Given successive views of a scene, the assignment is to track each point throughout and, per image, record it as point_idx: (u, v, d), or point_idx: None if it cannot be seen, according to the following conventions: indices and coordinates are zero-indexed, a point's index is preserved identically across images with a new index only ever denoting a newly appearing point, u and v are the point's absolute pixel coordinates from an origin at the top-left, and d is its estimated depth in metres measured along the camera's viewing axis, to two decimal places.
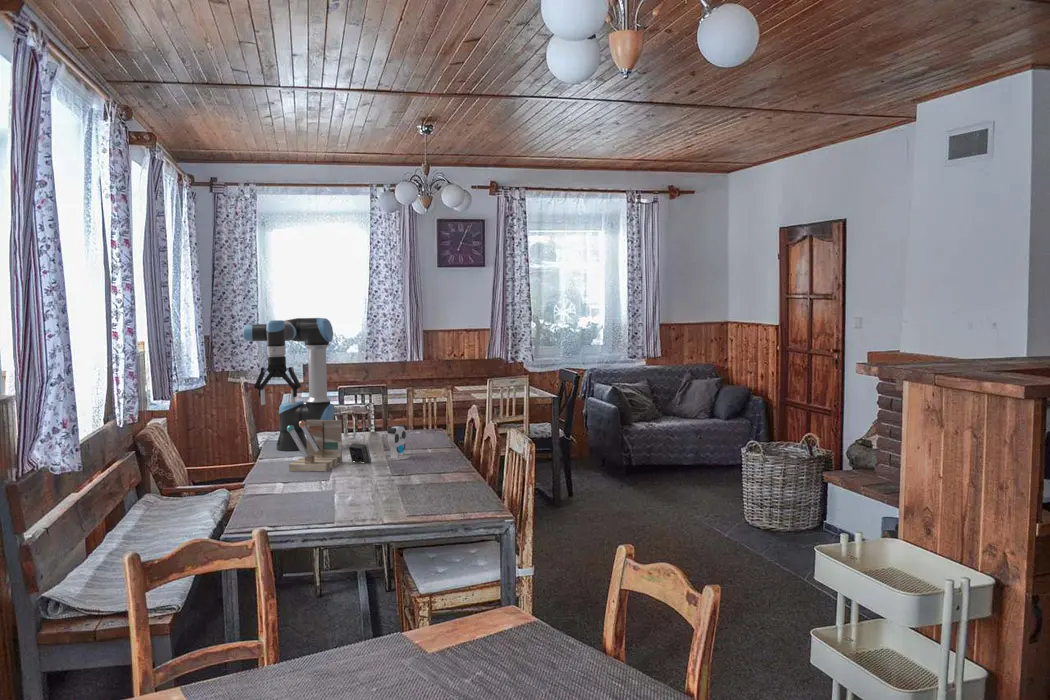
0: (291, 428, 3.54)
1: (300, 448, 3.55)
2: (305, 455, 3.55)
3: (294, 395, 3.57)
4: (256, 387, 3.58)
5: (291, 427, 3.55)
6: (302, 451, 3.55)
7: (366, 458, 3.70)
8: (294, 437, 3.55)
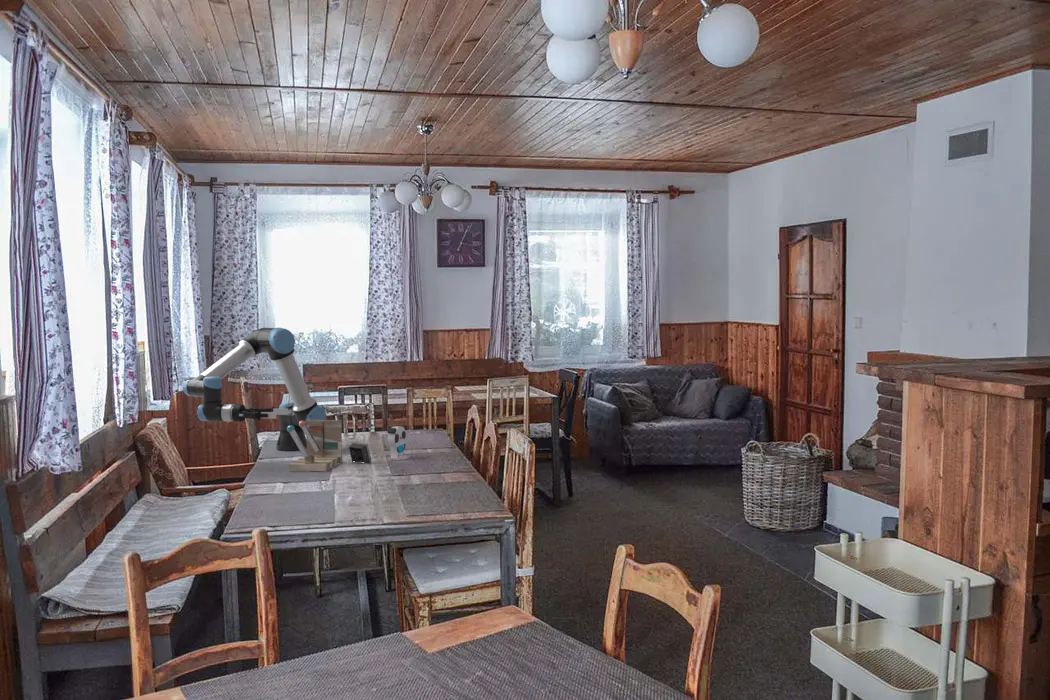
0: (291, 428, 3.54)
1: (300, 448, 3.55)
2: (305, 455, 3.55)
3: (265, 417, 3.49)
4: None
5: (291, 427, 3.55)
6: (302, 451, 3.55)
7: (366, 458, 3.70)
8: (294, 437, 3.55)
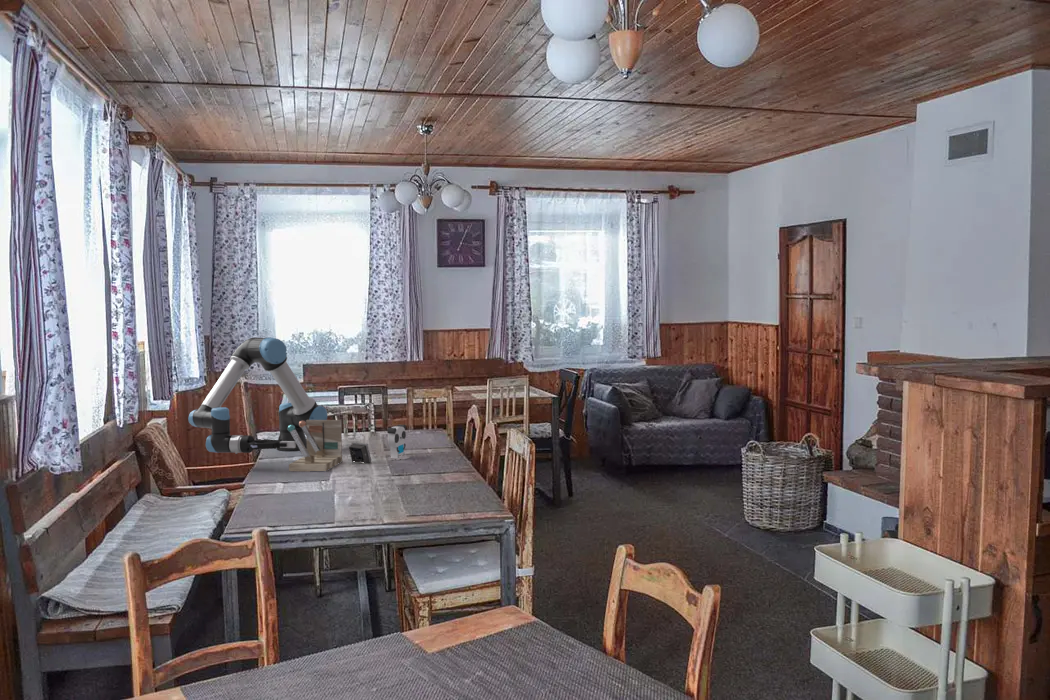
0: (291, 428, 3.54)
1: (300, 448, 3.55)
2: (305, 455, 3.55)
3: (284, 446, 3.55)
4: None
5: (292, 427, 3.55)
6: (302, 451, 3.55)
7: (366, 458, 3.70)
8: (295, 437, 3.55)
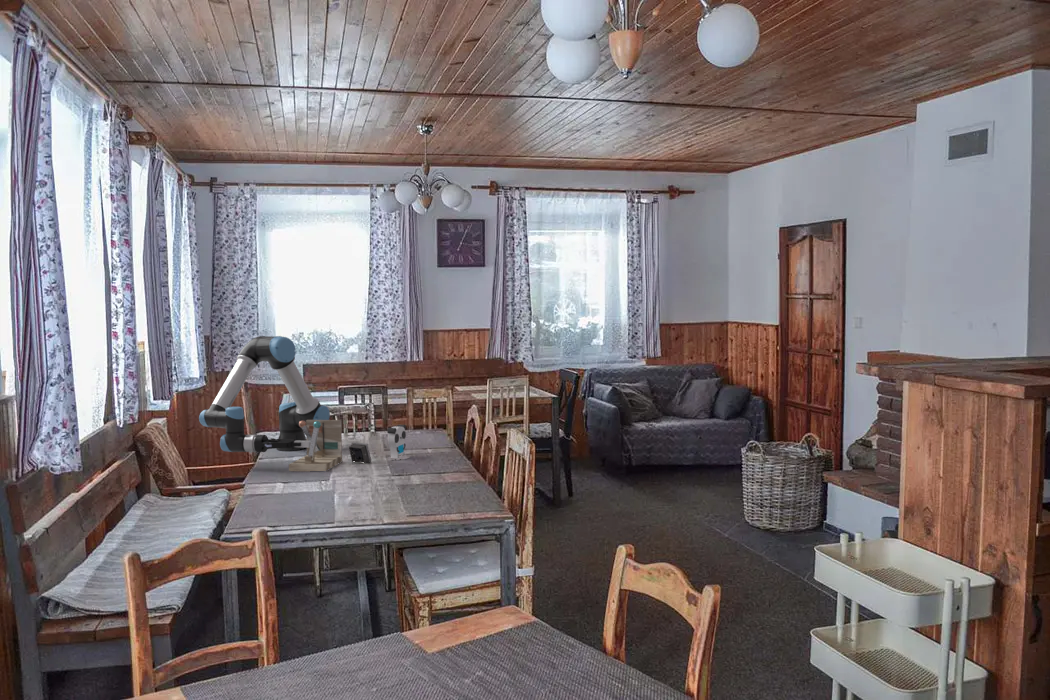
0: (317, 425, 3.53)
1: (311, 446, 3.54)
2: (310, 454, 3.54)
3: (299, 446, 3.54)
4: None
5: (318, 425, 3.53)
6: (311, 449, 3.54)
7: (366, 458, 3.70)
8: (314, 434, 3.54)
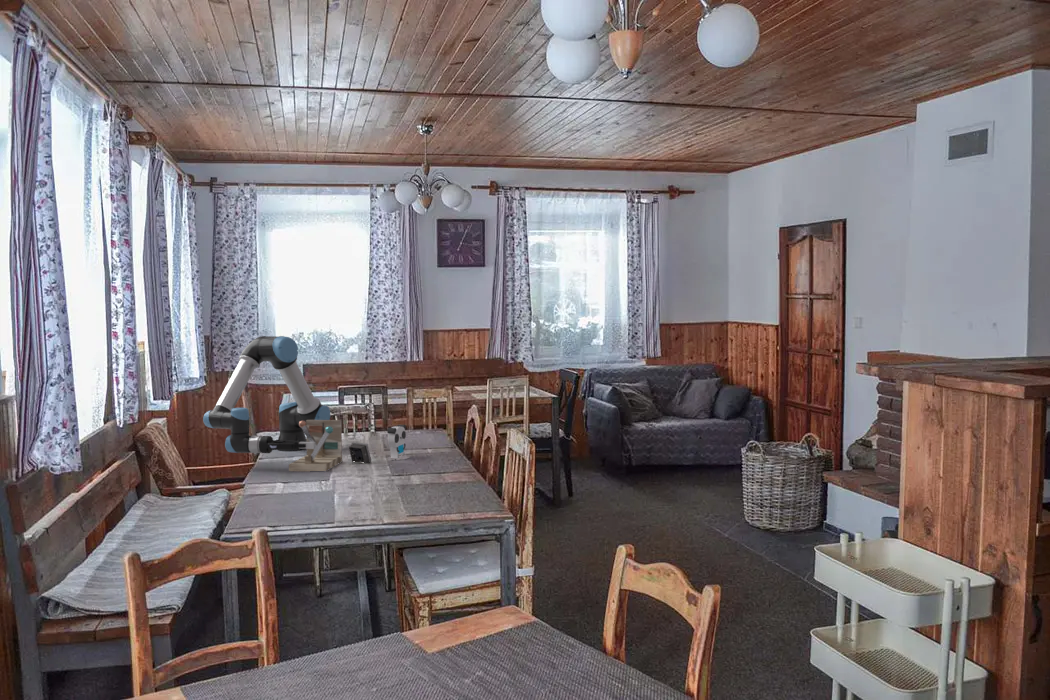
0: (329, 431, 3.53)
1: (316, 448, 3.54)
2: (313, 456, 3.54)
3: None
4: None
5: (330, 431, 3.53)
6: (315, 451, 3.54)
7: (366, 458, 3.70)
8: (323, 438, 3.54)
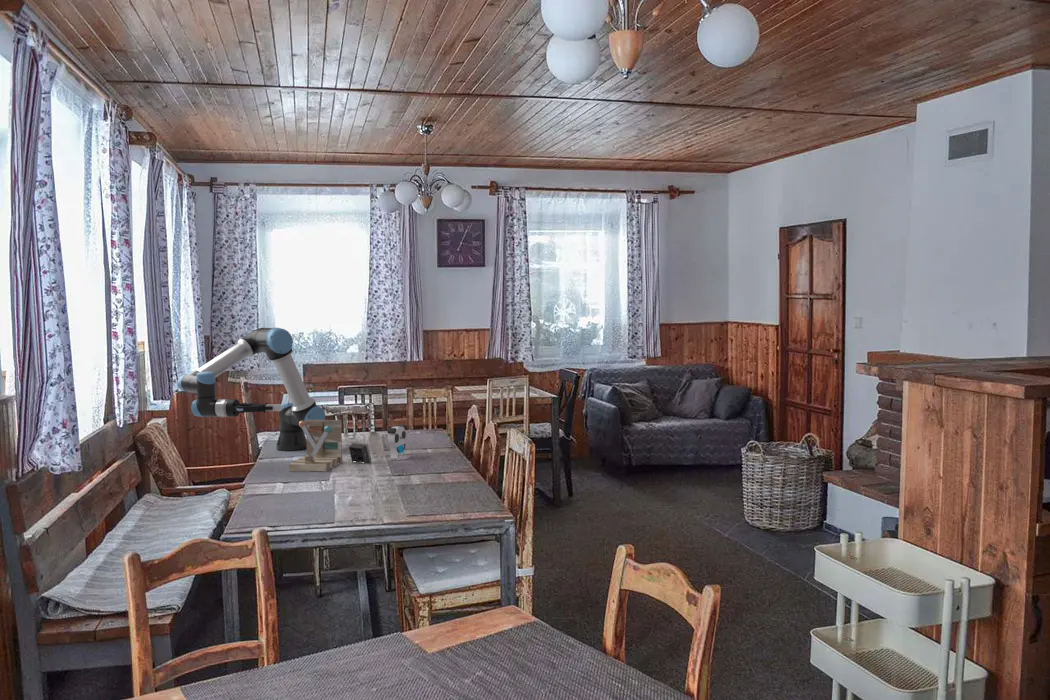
0: (328, 430, 3.53)
1: (316, 448, 3.54)
2: (312, 455, 3.54)
3: (270, 409, 3.55)
4: None
5: (329, 430, 3.53)
6: (314, 451, 3.54)
7: (366, 458, 3.70)
8: (322, 438, 3.54)
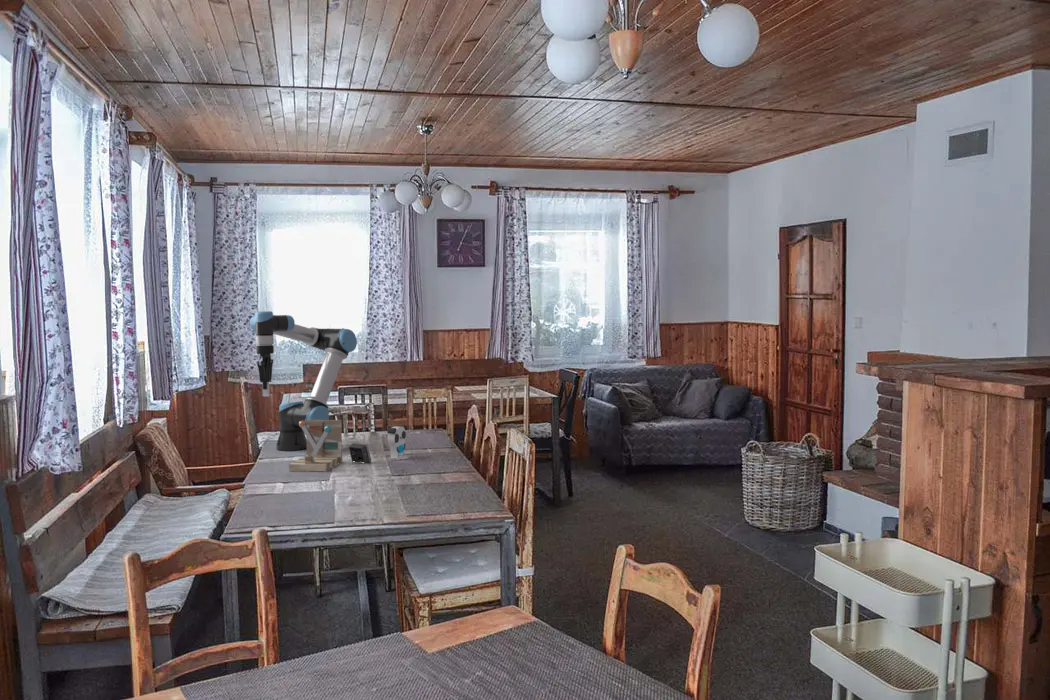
0: (328, 430, 3.53)
1: (316, 448, 3.54)
2: (312, 455, 3.54)
3: None
4: None
5: (329, 430, 3.53)
6: (314, 451, 3.54)
7: (366, 458, 3.70)
8: (322, 438, 3.54)
